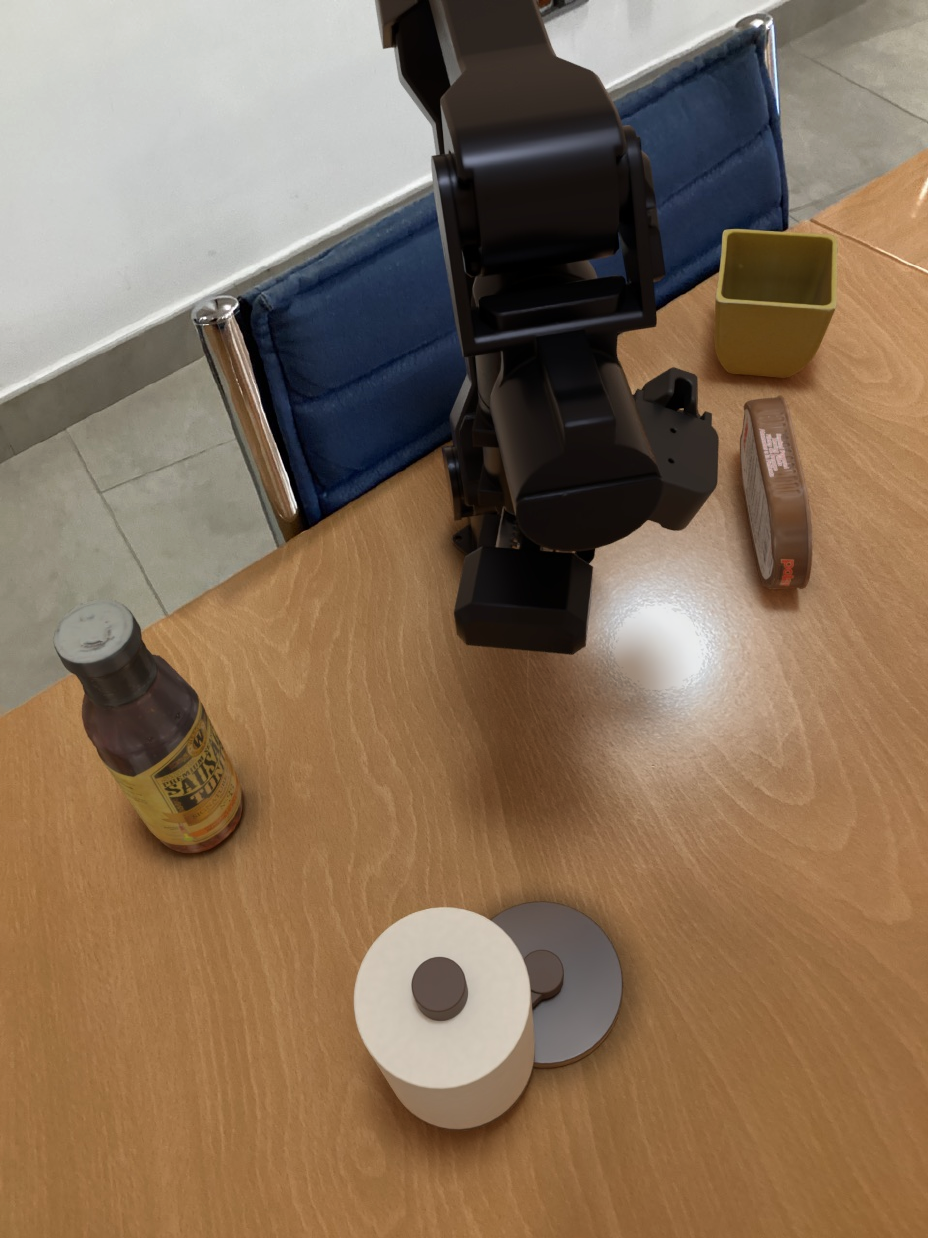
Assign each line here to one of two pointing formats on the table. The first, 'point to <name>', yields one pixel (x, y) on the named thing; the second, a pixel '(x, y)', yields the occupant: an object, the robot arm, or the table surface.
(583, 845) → the table surface
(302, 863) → the table surface
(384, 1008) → the paper towel roll
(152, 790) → the sauce bottle
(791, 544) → the tin
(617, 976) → the swivel base
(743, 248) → the flower pot
